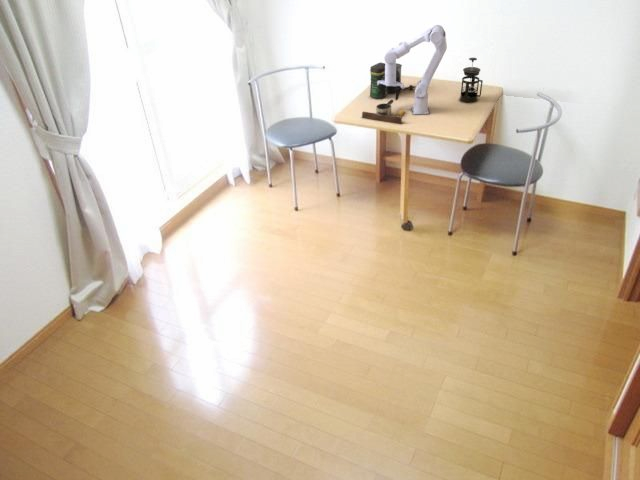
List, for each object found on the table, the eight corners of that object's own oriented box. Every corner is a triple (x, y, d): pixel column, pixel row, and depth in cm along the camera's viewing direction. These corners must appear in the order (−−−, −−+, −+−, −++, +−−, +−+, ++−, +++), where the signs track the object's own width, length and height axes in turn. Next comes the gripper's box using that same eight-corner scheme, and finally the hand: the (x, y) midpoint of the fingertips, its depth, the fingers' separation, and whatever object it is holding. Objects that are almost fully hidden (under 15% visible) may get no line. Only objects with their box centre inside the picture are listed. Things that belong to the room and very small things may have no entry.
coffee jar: (379, 100, 294) (379, 67, 283) (367, 97, 298) (367, 65, 287) (388, 94, 300) (389, 62, 289) (377, 92, 304) (377, 60, 293)
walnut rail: (362, 117, 277) (362, 112, 275) (363, 116, 278) (363, 111, 276) (400, 124, 267) (400, 118, 265) (401, 122, 268) (401, 117, 266)
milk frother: (382, 89, 306) (382, 64, 297) (405, 84, 311) (405, 59, 302) (395, 97, 296) (395, 71, 287) (418, 91, 301) (419, 66, 292)
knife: (400, 112, 279) (400, 109, 278) (404, 112, 278) (404, 110, 277) (391, 120, 271) (392, 118, 270) (395, 121, 270) (395, 119, 269)
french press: (456, 101, 286) (460, 59, 272) (462, 95, 292) (466, 54, 278) (476, 104, 280) (481, 62, 266) (482, 98, 286) (487, 56, 272)
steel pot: (387, 120, 272) (387, 110, 269) (373, 118, 275) (373, 108, 272) (398, 109, 282) (399, 99, 279) (385, 107, 286) (385, 97, 282)
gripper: (374, 75, 270) (374, 99, 279) (400, 78, 264) (399, 103, 272) (380, 70, 275) (380, 95, 283) (405, 73, 269) (404, 98, 277)
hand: (390, 98), depth 278 cm, fingers open, 7 cm apart
